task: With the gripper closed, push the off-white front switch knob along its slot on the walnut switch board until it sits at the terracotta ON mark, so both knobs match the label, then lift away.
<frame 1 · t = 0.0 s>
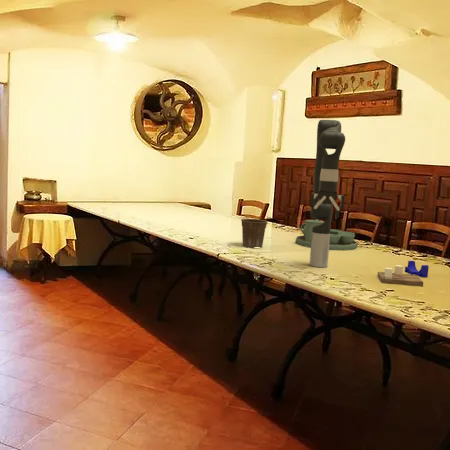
hand: (325, 218, 218), 29 cm above the table, fingers open, 8 cm apart
switch board: (399, 280, 240), on the table
cable clip: (415, 275, 257), on the table
tab a: (388, 272, 236), point 4 cm above the table, slide at 0.0 cm
tab b: (398, 270, 244), point 4 cm above the table, slide at 6.0 cm
plant pot: (252, 247, 314), on the table
green tea tray: (326, 245, 337), on the table
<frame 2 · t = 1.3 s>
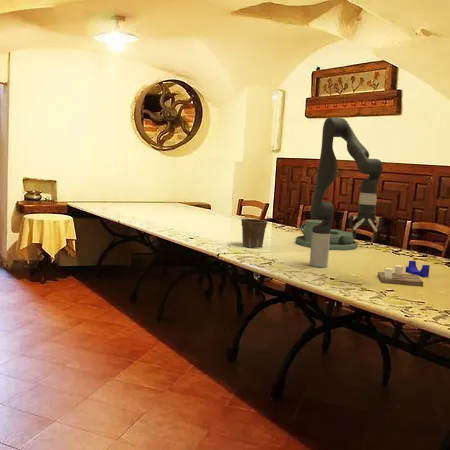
hand: (364, 238, 233), 20 cm above the table, fingers open, 8 cm apart
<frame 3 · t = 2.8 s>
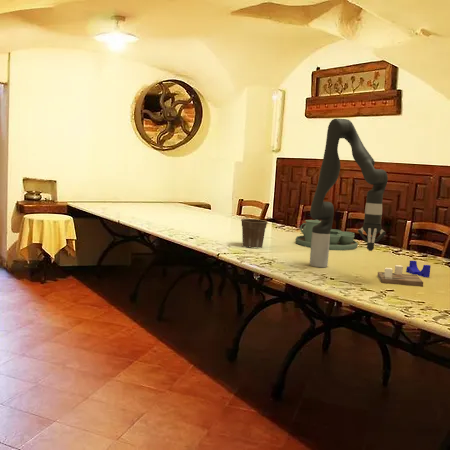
hand: (370, 250, 236), 14 cm above the table, fingers closed
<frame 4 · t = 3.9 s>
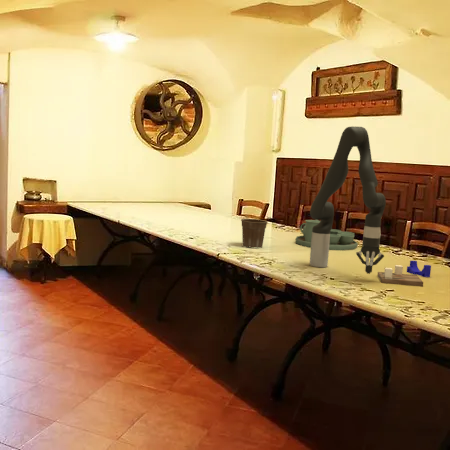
hand: (368, 273, 238), 3 cm above the table, fingers closed
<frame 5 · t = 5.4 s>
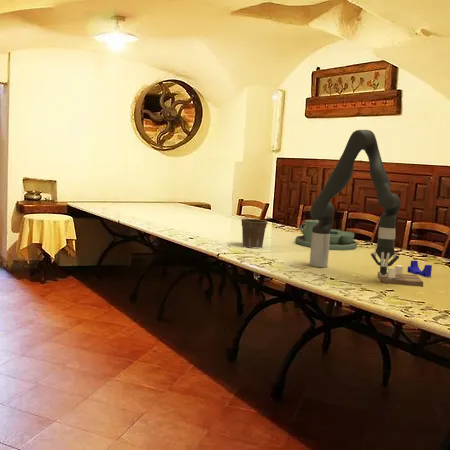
hand: (382, 274, 236), 3 cm above the table, fingers closed
tab a: (391, 273, 236), point 4 cm above the table, slide at 1.5 cm, touching gripper
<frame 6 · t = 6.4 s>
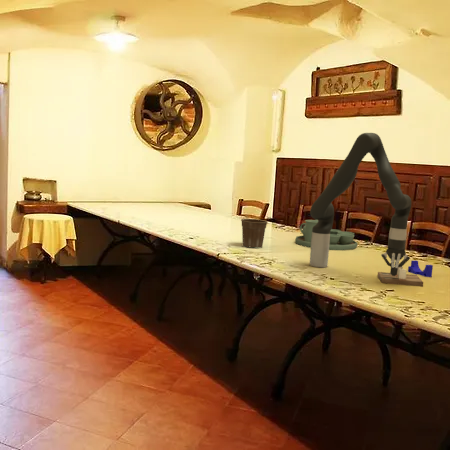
hand: (393, 275, 236), 3 cm above the table, fingers closed
tab a: (402, 273, 235), point 4 cm above the table, slide at 6.1 cm, touching gripper
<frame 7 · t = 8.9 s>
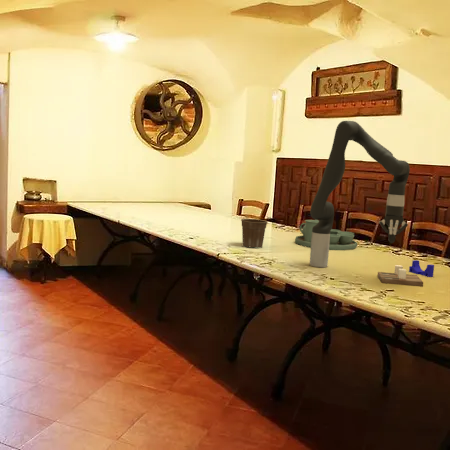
hand: (391, 242, 234), 18 cm above the table, fingers closed
tab a: (402, 273, 235), point 4 cm above the table, slide at 6.1 cm
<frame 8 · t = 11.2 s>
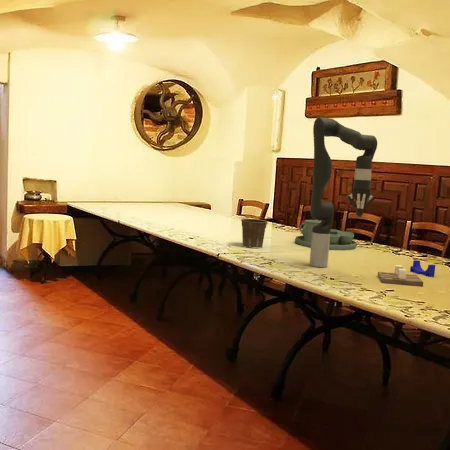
hand: (359, 216, 238), 29 cm above the table, fingers closed
at the end: tab a slide at 6.1 cm; tab b slide at 6.0 cm; the gripper is holding nothing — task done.
